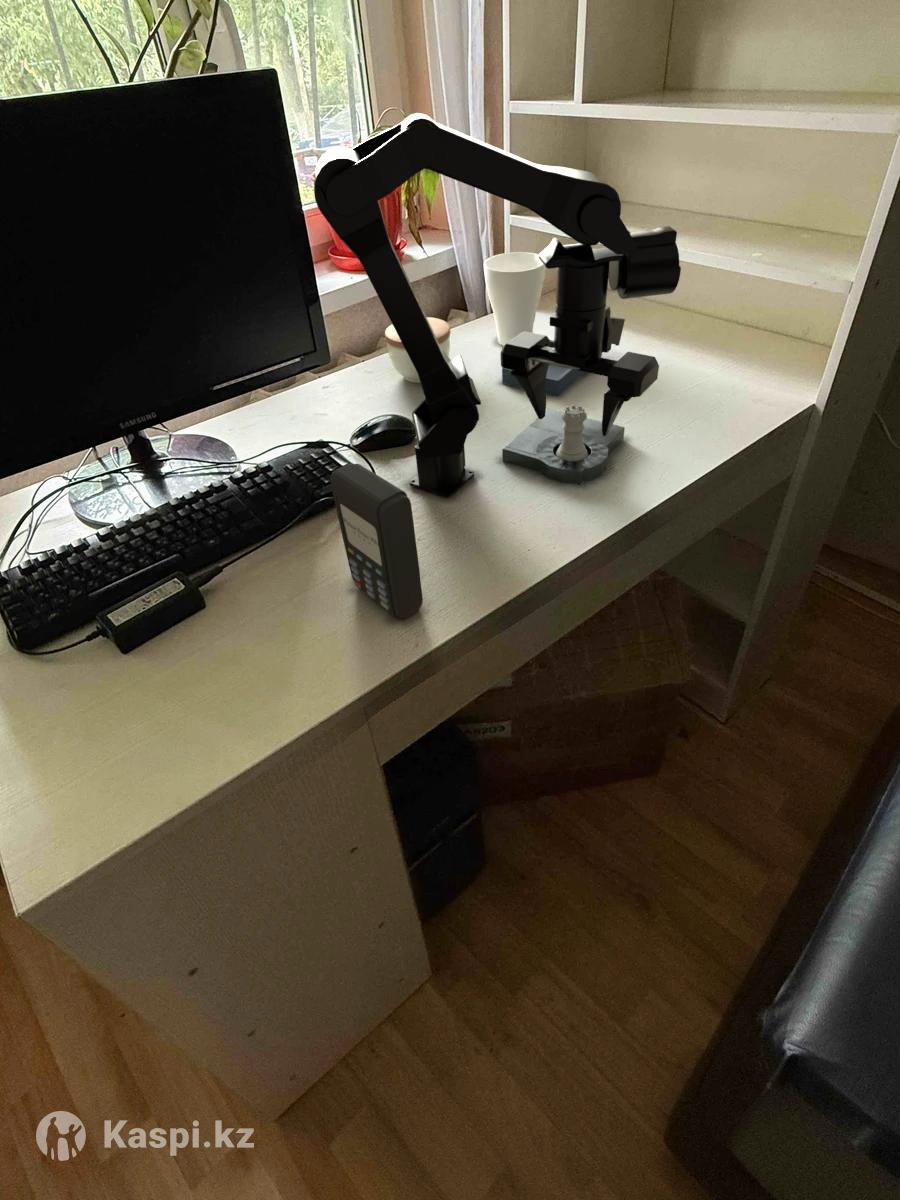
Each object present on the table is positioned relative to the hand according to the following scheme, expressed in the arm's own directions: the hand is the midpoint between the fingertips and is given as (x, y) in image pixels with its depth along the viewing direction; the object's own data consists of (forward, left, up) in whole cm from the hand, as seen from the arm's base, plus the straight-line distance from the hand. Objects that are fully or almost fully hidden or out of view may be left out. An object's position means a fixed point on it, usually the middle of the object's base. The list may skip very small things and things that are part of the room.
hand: (573, 425), depth 89 cm
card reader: (-34, +5, -6) cm, 35 cm away
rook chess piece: (0, 0, -6) cm, 6 cm away
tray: (+23, +16, -6) cm, 29 cm away
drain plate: (+3, +2, -6) cm, 7 cm away
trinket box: (+13, +35, -6) cm, 38 cm away
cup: (+32, +28, -6) cm, 43 cm away
